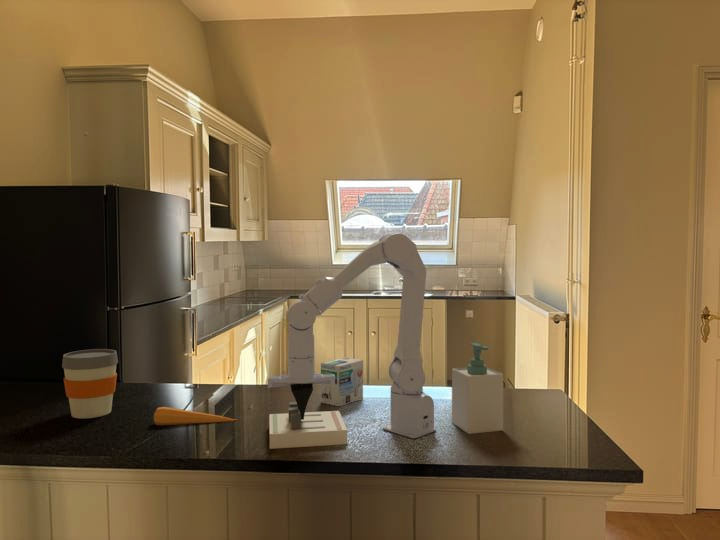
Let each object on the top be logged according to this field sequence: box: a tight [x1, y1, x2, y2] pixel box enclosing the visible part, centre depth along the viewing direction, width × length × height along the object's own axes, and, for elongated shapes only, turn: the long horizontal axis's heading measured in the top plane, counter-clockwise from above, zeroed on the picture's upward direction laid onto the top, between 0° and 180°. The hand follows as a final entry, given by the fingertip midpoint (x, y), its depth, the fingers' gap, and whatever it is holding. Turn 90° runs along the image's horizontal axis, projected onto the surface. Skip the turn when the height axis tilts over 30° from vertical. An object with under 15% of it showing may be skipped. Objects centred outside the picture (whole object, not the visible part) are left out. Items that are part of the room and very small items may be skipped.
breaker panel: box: [268, 401, 348, 450], centre depth 121 cm, size 16×14×6 cm
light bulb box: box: [320, 356, 364, 407], centre depth 149 cm, size 11×7×11 cm, turn 143°
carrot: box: [152, 406, 237, 426], centre depth 131 cm, size 20×4×4 cm, turn 98°
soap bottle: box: [451, 342, 504, 435], centre depth 127 cm, size 9×9×19 cm
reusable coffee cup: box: [61, 348, 119, 419], centre depth 138 cm, size 13×13×15 cm
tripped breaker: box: [287, 407, 298, 422], centre depth 121 cm, size 2×2×3 cm
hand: (301, 418), depth 121 cm, fingers closed
